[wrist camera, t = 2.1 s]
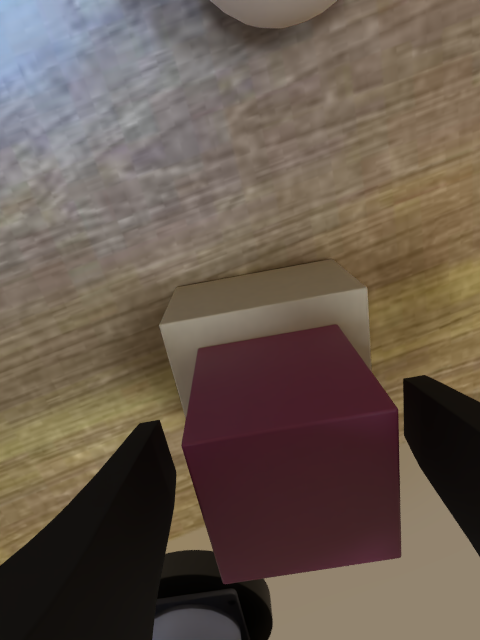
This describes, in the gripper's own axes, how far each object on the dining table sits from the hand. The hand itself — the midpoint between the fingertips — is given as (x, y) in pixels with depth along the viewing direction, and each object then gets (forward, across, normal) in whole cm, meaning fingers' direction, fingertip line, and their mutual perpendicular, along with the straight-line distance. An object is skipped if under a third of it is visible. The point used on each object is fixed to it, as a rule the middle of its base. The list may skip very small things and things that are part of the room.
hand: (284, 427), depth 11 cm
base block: (+6, 0, 0) cm, 6 cm away
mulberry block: (+2, 0, 0) cm, 2 cm away
